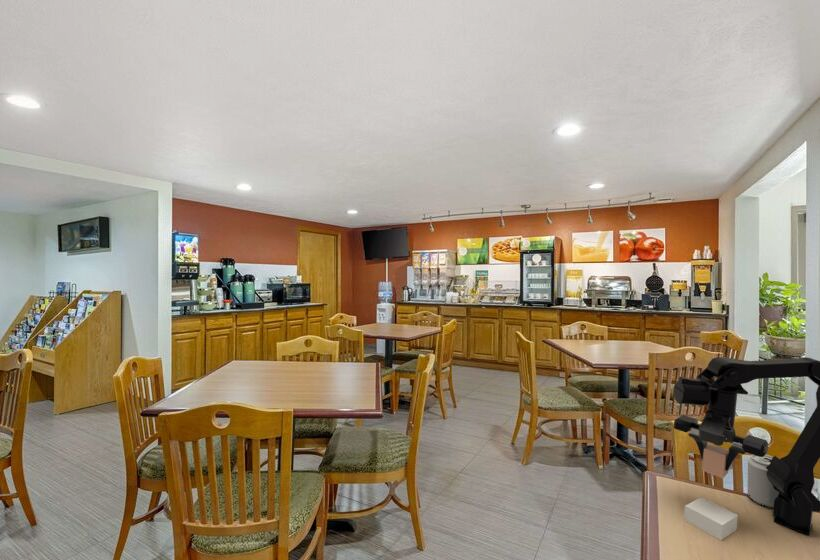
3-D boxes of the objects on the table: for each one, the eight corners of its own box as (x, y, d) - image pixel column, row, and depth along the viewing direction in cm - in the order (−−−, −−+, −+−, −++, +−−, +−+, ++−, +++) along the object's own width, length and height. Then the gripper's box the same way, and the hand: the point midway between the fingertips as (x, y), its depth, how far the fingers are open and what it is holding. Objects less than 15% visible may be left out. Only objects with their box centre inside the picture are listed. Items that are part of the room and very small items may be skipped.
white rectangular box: (736, 530, 98) (738, 515, 97) (720, 541, 94) (722, 525, 93) (699, 511, 105) (701, 497, 104) (683, 520, 101) (685, 505, 100)
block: (728, 473, 104) (730, 450, 103) (722, 478, 101) (725, 455, 101) (707, 465, 107) (709, 443, 107) (701, 470, 104) (704, 448, 104)
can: (791, 507, 106) (792, 464, 106) (765, 510, 106) (766, 466, 105) (764, 491, 114) (764, 450, 113) (740, 493, 113) (740, 452, 112)
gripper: (668, 402, 105) (663, 459, 106) (761, 428, 90) (753, 494, 92) (683, 394, 112) (678, 448, 113) (772, 417, 97) (765, 479, 99)
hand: (715, 466), depth 104 cm, fingers closed on block, 4 cm apart
